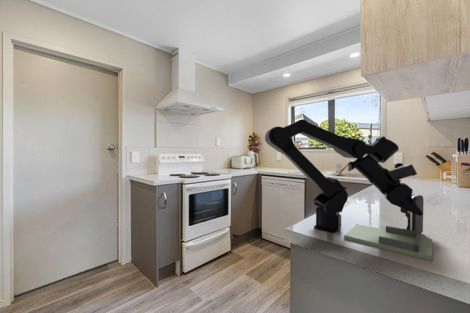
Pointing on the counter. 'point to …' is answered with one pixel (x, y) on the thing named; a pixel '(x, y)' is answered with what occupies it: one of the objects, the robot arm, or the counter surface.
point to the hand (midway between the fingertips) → (417, 211)
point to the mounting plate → (392, 240)
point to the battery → (415, 220)
